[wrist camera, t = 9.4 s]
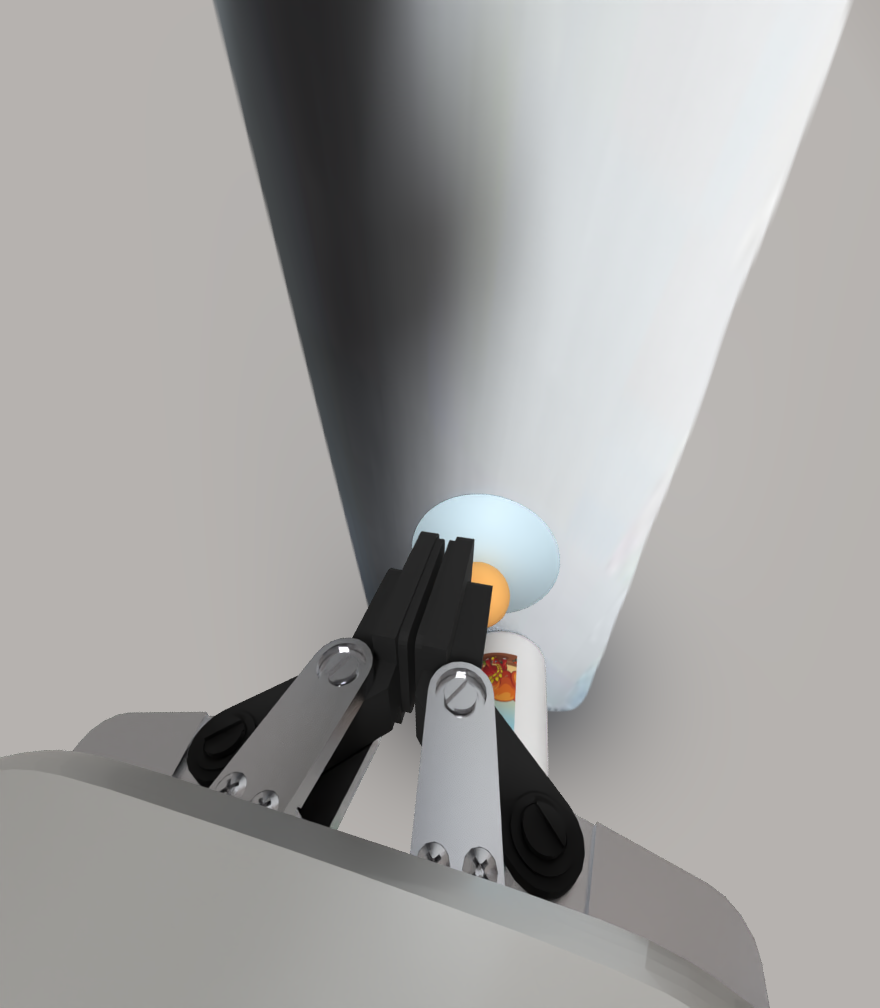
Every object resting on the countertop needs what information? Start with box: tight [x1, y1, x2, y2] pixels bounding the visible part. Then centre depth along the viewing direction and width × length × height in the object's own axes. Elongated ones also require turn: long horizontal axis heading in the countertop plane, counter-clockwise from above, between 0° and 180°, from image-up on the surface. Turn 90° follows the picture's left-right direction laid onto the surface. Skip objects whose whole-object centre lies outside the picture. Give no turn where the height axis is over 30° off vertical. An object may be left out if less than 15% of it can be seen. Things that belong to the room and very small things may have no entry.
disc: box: [412, 494, 560, 613], centre depth 31 cm, size 13×13×1 cm
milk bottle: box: [482, 631, 548, 776], centre depth 28 cm, size 8×8×20 cm
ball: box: [471, 562, 510, 628], centre depth 30 cm, size 6×6×6 cm
